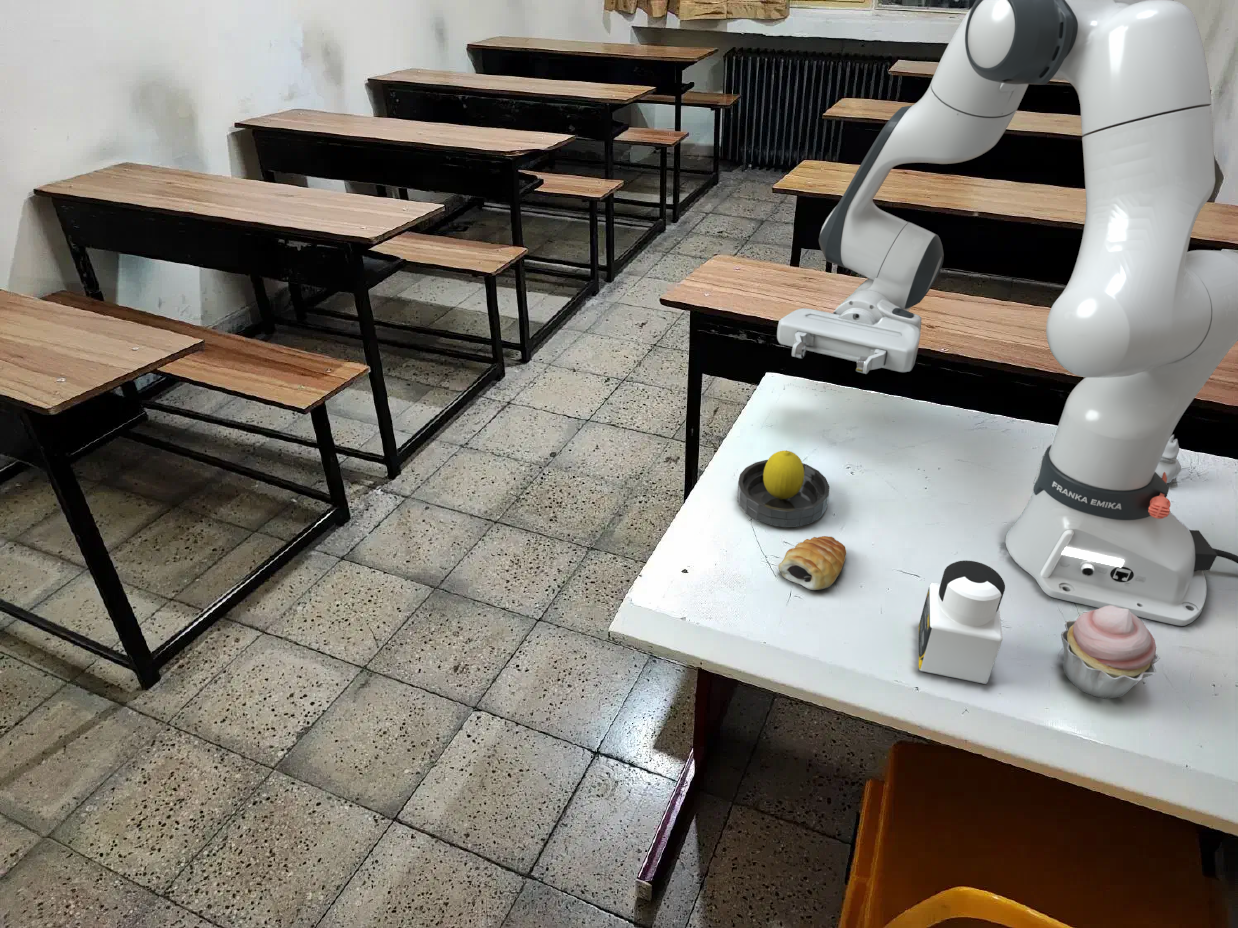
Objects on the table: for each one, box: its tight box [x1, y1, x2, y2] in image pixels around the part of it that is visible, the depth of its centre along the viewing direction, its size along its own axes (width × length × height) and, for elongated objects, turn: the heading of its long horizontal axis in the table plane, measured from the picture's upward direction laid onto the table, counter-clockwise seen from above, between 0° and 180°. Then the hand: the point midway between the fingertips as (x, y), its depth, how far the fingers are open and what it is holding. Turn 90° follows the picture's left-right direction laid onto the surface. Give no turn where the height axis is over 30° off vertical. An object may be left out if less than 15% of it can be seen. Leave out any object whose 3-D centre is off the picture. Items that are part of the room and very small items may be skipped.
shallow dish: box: [736, 459, 830, 528], centre depth 115 cm, size 12×12×3 cm
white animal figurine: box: [1155, 434, 1182, 484], centre depth 117 cm, size 5×7×8 cm
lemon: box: [763, 450, 804, 499], centre depth 113 cm, size 6×6×8 cm
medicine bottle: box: [918, 560, 1006, 685], centre depth 88 cm, size 7×7×12 cm
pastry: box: [777, 535, 847, 591], centre depth 103 cm, size 9×7×4 cm
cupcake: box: [1060, 605, 1161, 700], centre depth 86 cm, size 9×9×10 cm
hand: (828, 360), depth 114 cm, fingers open, 8 cm apart
